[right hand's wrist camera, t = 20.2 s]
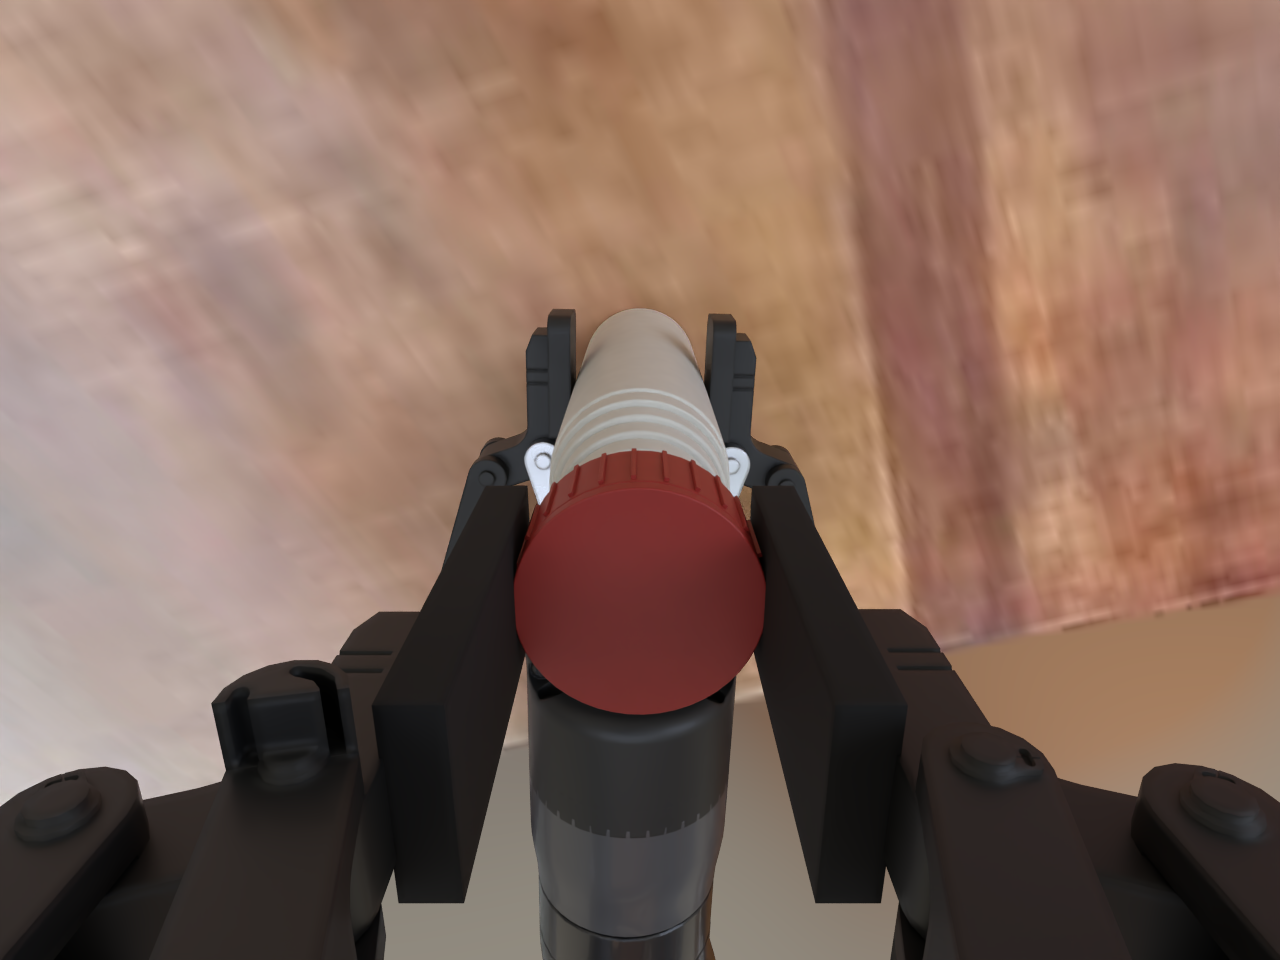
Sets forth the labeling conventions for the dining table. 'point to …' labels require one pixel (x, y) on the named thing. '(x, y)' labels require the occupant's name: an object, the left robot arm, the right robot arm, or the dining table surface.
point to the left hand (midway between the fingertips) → (641, 317)
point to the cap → (639, 584)
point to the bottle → (639, 398)
